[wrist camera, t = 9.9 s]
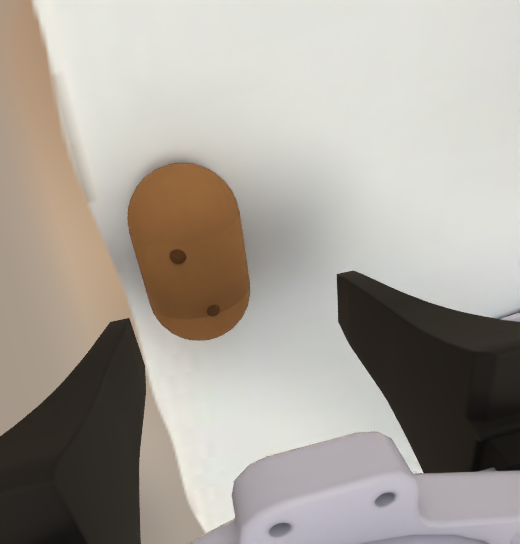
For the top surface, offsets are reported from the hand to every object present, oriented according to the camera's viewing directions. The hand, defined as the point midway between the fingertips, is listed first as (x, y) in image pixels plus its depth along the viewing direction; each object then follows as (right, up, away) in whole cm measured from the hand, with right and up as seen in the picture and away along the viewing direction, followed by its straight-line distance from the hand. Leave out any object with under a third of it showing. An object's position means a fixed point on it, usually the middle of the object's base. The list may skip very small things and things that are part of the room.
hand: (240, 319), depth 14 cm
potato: (-3, +3, +7) cm, 8 cm away
